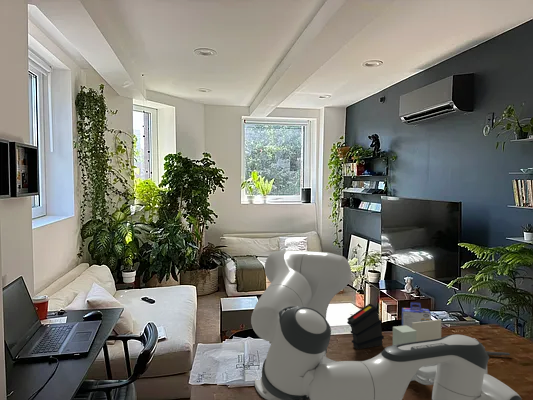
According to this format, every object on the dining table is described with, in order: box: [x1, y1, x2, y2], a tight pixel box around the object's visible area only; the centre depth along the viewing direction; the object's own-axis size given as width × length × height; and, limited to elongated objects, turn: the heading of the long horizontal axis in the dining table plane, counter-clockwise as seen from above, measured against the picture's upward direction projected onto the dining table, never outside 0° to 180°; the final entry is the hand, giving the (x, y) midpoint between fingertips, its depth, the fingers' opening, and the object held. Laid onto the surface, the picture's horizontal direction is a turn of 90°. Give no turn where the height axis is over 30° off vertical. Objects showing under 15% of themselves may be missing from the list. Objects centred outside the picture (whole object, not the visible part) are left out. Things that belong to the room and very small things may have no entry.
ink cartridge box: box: [401, 301, 432, 328], centre depth 143 cm, size 10×6×14 cm, turn 77°
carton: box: [412, 319, 442, 342], centre depth 123 cm, size 11×16×12 cm
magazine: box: [346, 303, 385, 350], centre depth 140 cm, size 4×13×15 cm, turn 111°
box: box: [392, 325, 416, 345], centre depth 121 cm, size 5×5×13 cm
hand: (424, 355), depth 112 cm, fingers open, 8 cm apart
